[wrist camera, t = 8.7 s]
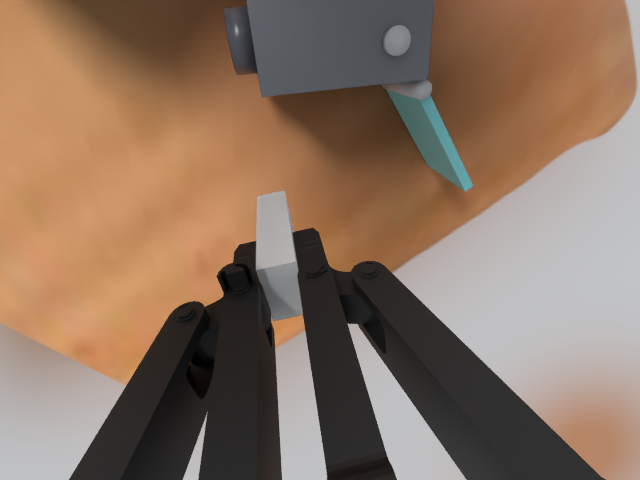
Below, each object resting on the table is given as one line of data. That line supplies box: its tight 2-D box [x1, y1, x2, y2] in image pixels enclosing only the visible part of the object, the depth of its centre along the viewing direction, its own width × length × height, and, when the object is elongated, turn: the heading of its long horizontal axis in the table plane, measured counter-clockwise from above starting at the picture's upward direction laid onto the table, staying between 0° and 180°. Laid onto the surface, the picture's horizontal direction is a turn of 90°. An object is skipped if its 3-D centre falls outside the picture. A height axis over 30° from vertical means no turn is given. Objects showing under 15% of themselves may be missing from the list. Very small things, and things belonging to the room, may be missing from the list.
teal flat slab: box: [380, 80, 473, 191], centre depth 35 cm, size 2×13×10 cm, turn 35°
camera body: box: [224, 0, 434, 97], centre depth 29 cm, size 10×16×12 cm, turn 94°
